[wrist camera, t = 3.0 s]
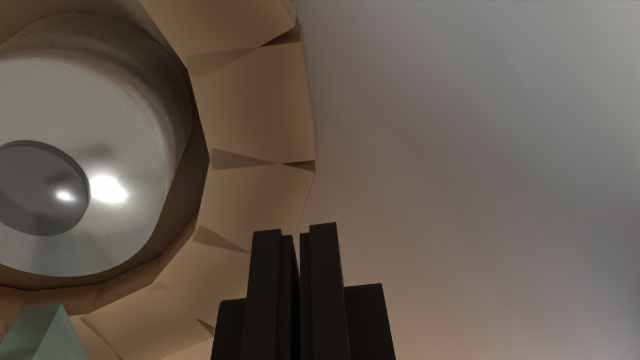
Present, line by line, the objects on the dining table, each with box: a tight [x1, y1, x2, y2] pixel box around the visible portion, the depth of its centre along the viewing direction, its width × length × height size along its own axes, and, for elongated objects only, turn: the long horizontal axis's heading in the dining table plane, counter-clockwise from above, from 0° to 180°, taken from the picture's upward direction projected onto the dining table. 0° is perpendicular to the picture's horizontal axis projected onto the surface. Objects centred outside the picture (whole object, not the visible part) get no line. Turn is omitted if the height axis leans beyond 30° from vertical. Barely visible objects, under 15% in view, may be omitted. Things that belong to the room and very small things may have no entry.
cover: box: [0, 11, 193, 277], centre depth 20 cm, size 8×8×6 cm
